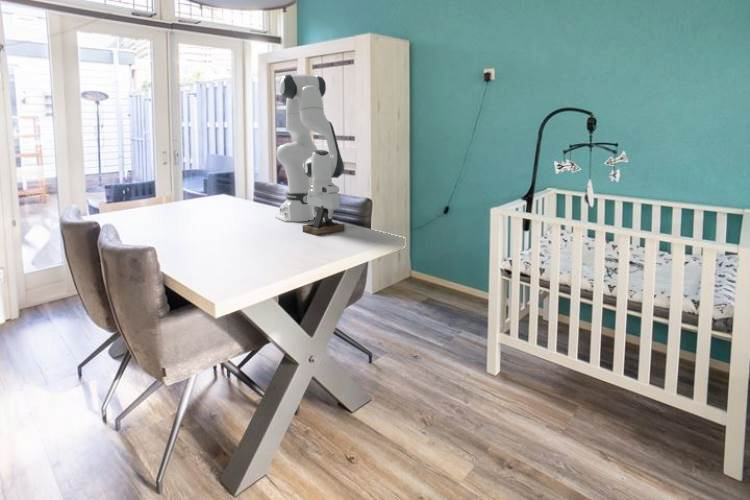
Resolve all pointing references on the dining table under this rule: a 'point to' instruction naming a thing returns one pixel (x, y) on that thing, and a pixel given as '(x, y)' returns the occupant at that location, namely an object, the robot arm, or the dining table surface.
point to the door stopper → (319, 218)
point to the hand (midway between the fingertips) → (323, 217)
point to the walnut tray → (323, 229)
